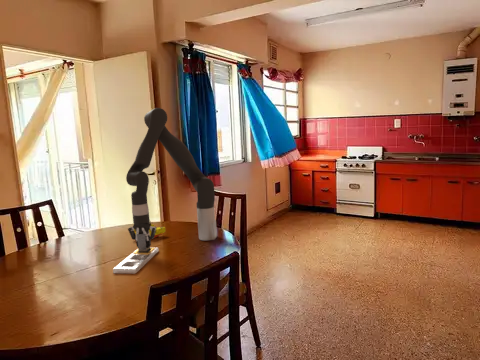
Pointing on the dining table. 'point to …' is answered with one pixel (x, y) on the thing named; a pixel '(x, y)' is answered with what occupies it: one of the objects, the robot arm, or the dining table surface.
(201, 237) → the robot arm
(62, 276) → the dining table surface
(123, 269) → the rail
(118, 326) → the dining table surface
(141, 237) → the peg
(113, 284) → the dining table surface
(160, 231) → the toy boat
